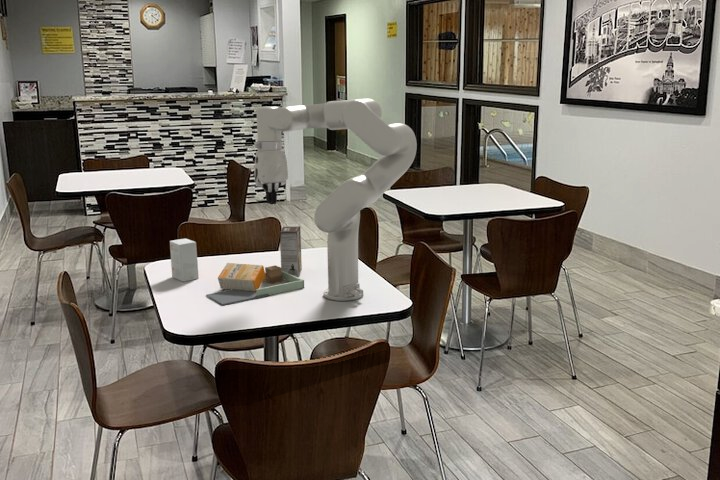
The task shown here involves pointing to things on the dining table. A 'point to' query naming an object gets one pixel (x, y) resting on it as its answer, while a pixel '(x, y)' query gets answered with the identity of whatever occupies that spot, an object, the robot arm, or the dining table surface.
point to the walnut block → (273, 274)
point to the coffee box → (291, 250)
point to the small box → (184, 259)
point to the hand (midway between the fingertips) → (271, 203)
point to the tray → (282, 285)
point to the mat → (234, 296)
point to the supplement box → (241, 277)
